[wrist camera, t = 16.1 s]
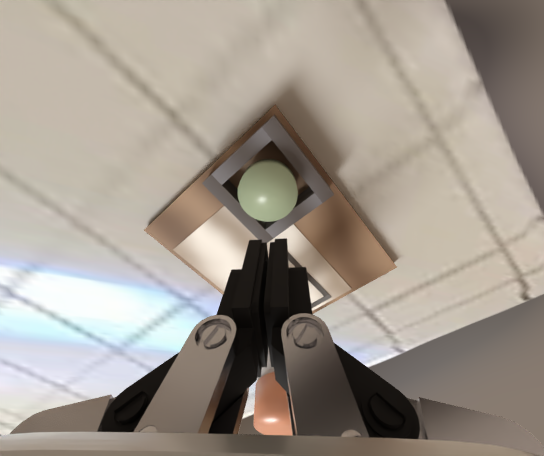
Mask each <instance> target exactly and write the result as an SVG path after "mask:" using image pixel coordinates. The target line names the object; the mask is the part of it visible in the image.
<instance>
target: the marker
mask: <svg viewBox="0 0 544 456" xmlns="http://www.w3.org/2000/svg"><path fill="white" fill-rule="evenodd" d="M254 427H255V429H256V430H257V431H259V432H260V433H262V434H264V435H292V429H291V422H290V415H289V409H288V402H287V394H286V391H285V390H284V389H283V388H282V387H281V386H280V384H279V383H278V382H277V381H276V380H275V373H274V367H271V363H270V355H269V347H268V360H267V367H262V370H261V377H257V383H256V390H255V408H254Z"/></svg>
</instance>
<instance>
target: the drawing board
mask: <svg viewBox="0 0 544 456" xmlns="http://www.w3.org/2000/svg"><path fill="white" fill-rule="evenodd" d="M262 159H274V160H278V161H280V162H282V163H284V164H285V165H286V166H288V167H289V168H290V170H291V171H292V173H293V175H294V177H295V180H296V185H297V190H298V197H297V202H296V204H295V206H294V208H293V210H292V211H291V212H290V213H289V214H288V215H287V216H285V217H284V218H282V219H280V220H277V221H271V222H265V221H260V220H257V219H254V218H253V217H251V216H250V215H248V214H247V213H246V212H245V211H244V210H243V208H242V207H241V205H240V202H239V199H238V186H239V183H240V180H241V178H242V176H243V174H244V172H245V171H246V169H247V168H248V167H249V166H250V165H251V164H253V163H254V162H256V161H259V160H262ZM144 231H146V232H147V233H148V234H149V235H150V236H152V237H153V238H154V239H155V240H157V241H158V242H159V243H160V244H161V245H163V246H164V247H165V248H166V249H168V250H169V251H170V252H171V253H173V254H174V255H175V256H176V257H177V258H179V259H180V260H181V261H182V262H184V263H185V264H186V265H187V266H188V267H190V268H191V269H192V270H193V271H195V272H196V273H197V274H198V275H200V276H201V277H202V278H203V279H204V280H206V281H207V282H208V283H209V284H211V285H212V286H213V287H214V288H216V289H217V290H218V291H219V292H220V293H222V294H224V291H225V287H226V284H227V281H228V278H229V275H230V272H231V270H232V269H242V266H243V262H244V258H245V254H246V250H247V247H248V243H249V240H260V239H262V243H264V242H267V249H268V258H269V249H270V242H275V239H283V238H287V245H288V263H289V268H291V267H306V269H307V277H308V284H309V292H310V299H311V307H312V314H313V313H315V312H317V311H319V310H320V309H322V308H324V307H326V306H328V305H329V304H331V303H333V302H335V301H337V300H339V299H340V298H342V297H344V296H346V295H348V294H349V293H351V292H353V291H355V290H357V289H358V288H360V287H362V286H364V285H366V284H368V283H369V282H371V281H373V280H375V279H377V278H378V277H380V276H382V275H384V274H386V273H388V272H389V271H391V270H393V269H395V268H397V267H396V265H395V264H394V262H393V261H392V260H391V258H390V257H389V256H388V254H387V253H386V252H385V250H384V249H383V248H382V246H381V245H380V244H379V242H378V241H377V240H376V238H375V237H374V236H373V235H372V233H371V232H370V231H369V229H368V228H367V227H366V225H365V224H364V223H363V221H362V220H361V219H360V217H359V216H358V215H357V213H356V212H355V211H354V209H353V208H352V207H351V205H350V204H349V203H348V201H347V200H346V199H345V197H344V196H343V195H342V193H341V192H340V191H339V189H338V188H337V187H336V185H335V184H334V183H333V181H332V180H331V179H330V177H329V176H328V175H327V173H326V172H325V171H324V169H323V168H322V167H321V165H320V164H319V163H318V161H317V160H316V159H315V157H314V156H313V155H312V153H311V152H310V151H309V149H308V148H307V147H306V145H305V144H304V143H303V141H302V140H301V139H300V137H299V136H298V135H297V133H296V132H295V131H294V129H293V128H292V127H291V125H290V124H289V123H288V121H287V120H286V119H285V117H284V116H283V115H282V113H281V112H280V111H279V109H278V108H277V107H276V105H274V106H273V107H272V108H271V109H270V110H269V111H268V112H267V113H266V114H265V115H264V116H263V117H262V118H261V119H260V120H259V121H258V122H257V123H256V124H255V125H253V126H252V127H251V128H250V129H249V130H248V131H247V132H246V133H245V134H244V135H243V136H242V137H241V138H240V139H239V140H238V141H237V142H236V143H235V144H234V145H233V146H231V147H230V148H229V149H228V150H227V151H226V152H225V153H224V154H223V155H222V156H221V157H220V158H219V159H218V160H217V161H216V162H215V163H214V164H213V165H212V166H211V167H210V168H208V169H207V170H206V171H205V172H204V173H203V174H202V175H201V176H200V177H199V178H198V179H197V180H196V181H195V182H194V183H193V184H192V185H191V186H190V187H189V188H188V189H186V190H185V191H184V192H183V193H182V194H181V195H180V196H179V197H178V198H177V199H176V200H175V201H174V202H173V203H172V204H171V205H170V206H169V207H168V208H167V209H166V210H164V211H163V212H162V213H161V214H160V215H159V216H158V217H157V218H156V219H155V220H154V221H153V222H152V223H151V224H150V225H149V226H148V227H147V228H146V229H145V230H144Z"/></svg>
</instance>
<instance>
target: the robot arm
mask: <svg viewBox="0 0 544 456" xmlns="http://www.w3.org/2000/svg"><path fill="white" fill-rule="evenodd" d="M268 347H269V355H270V363H271V367H274V373H275V380H276V381H277V382H278V383H279V384H280V386H281V387H282V388H283V389H284V390H285V391H286V394H287V402H288V409H289V415H290V422H291V429H292V435H247V434H243V435H242V434H238V432H239V428H240V425H241V421H242V417H243V413H244V409H245V406H246V402H247V398H248V393H249V387H250V386H251V385H252V384H253V383H254V382H255V381H256V380H257V377H261V370H262V367H267V360H268ZM0 456H544V447H543V445H542V444H541V443H540V442H539V441H538V440H537V439H536V438H535V437H534V436H533V435H532V434H531V433H529V431H527V430H526V429H524V428H523V427H521V426H520V425H518V424H517V423H515V422H513V421H511V420H508V419H505V418H503V417H500V416H495V415H491V414H487V413H483V412H479V411H475V410H470V409H466V408H462V407H458V406H454V405H450V404H445V403H441V402H437V401H432V400H429V399H425V398H420V397H419V398H418V401H417V400H413V399H409V398H406V397H405V396H404V395H403V394H402V393H401V392H400V391H399V390H397V389H396V388H395V387H393V386H392V385H391V384H389V383H388V382H386V381H385V380H384V379H382V378H381V377H380V376H378V375H377V374H376V373H374V372H373V371H372V370H370V369H369V368H368V367H366V366H365V365H363V364H362V363H361V362H359V361H358V360H357V359H355V358H354V357H353V356H351V355H350V354H348V353H347V352H346V351H344V350H343V349H342V348H340V347H339V346H338V345H336V344H335V343H334V342H333V340H332V337H331V335H330V332H329V329H328V327H327V326H326V324H325V322H324V321H322V320H321V319H320V318H319V317H317V316H315V315H313V314H312V307H311V299H310V292H309V284H308V277H307V269H306V267H291V268H289V263H288V245H287V238H283V239H275V242H270V249H269V258H268V249H267V242H264V243H262V239H260V240H249V243H248V247H247V250H246V254H245V258H244V262H243V266H242V269H232V270H231V272H230V275H229V278H228V281H227V284H226V287H225V291H224V294H223V297H222V300H221V303H220V306H219V309H218V312H217V315H214V316H210V317H207V318H206V319H204V320H202V321H201V322H199V323H198V324H197V325H196V326H195V328H194V329H193V330H192V332H191V333H190V335H189V337H188V339H187V340H186V342H185V344H184V346H183V347H182V349H181V351H180V352H179V353H177V354H176V355H175V356H173V357H172V358H170V359H169V360H167V361H166V362H164V363H163V364H161V365H160V366H159V367H157V368H156V369H154V370H153V371H151V372H150V373H148V374H147V375H145V376H144V377H142V378H141V379H140V380H138V381H137V382H135V383H134V384H132V385H131V386H129V387H128V388H126V389H125V390H124V391H123V392H122V393H120V394H119V395H118V396H117V397H115V398H113V397H112V395H107V396H103V397H99V398H95V399H91V400H86V401H82V402H78V403H74V404H70V405H65V406H61V407H57V408H53V409H48V410H44V411H42V412H39V413H36V414H34V415H32V416H31V417H29V418H28V419H26V420H25V421H23V422H22V423H21V424H19V425H18V426H17V427H16V428H15V429H14V430H13V431H12V432H11V433H10V434H9V435H2V436H0Z"/></svg>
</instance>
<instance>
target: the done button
mask: <svg viewBox="0 0 544 456" xmlns="http://www.w3.org/2000/svg"><path fill="white" fill-rule="evenodd" d="M297 197H298V190H297V185H296V180H295V177H294V175H293V173H292V171H291V170H290V168H289V167H288V166H286V165H285V164H284V163H282V162H280V161H278V160H274V159H262V160H259V161H256V162H254V163H253V164H251V165H250V166H249V167H248V168H247V169H246V171H245V172H244V174H243V176H242V178H241V180H240V183H239V186H238V199H239V202H240V205H241V207H242V208H243V210H244V211H245V212H246V213H247V214H248V215H250V216H251V217H253V218H254V219H257V220H260V221H265V222H271V221H277V220H280V219H282V218H284V217H285V216H287V215H288V214H289V213H290V212H291V211H292V210H293V208H294V206H295V204H296V202H297Z"/></svg>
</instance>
